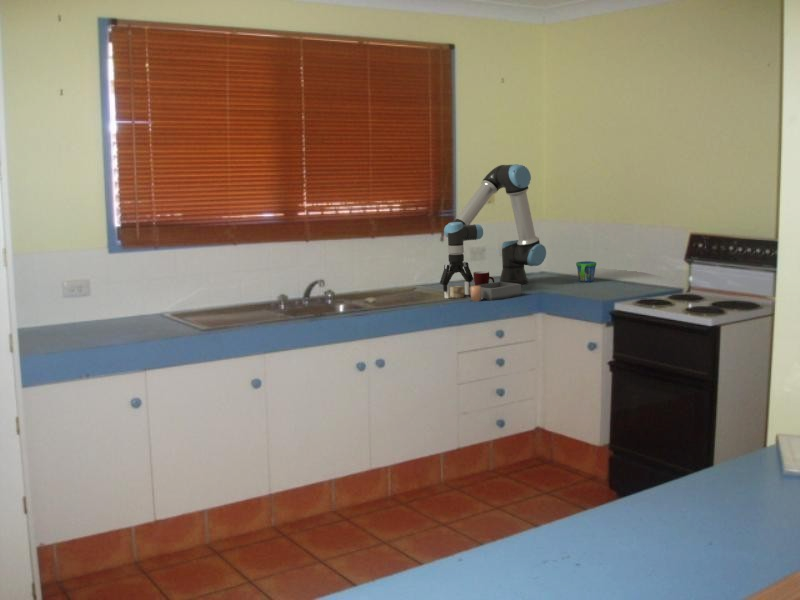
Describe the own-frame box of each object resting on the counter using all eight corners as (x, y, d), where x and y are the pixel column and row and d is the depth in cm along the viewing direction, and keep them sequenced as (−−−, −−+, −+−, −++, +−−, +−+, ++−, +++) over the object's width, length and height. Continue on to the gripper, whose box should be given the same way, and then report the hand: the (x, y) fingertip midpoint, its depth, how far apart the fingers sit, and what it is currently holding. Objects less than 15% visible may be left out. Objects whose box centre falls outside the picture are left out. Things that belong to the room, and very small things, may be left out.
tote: (500, 292, 455) (499, 281, 454) (521, 295, 443) (521, 284, 442) (470, 297, 443) (470, 286, 442) (491, 300, 431) (491, 289, 430)
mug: (492, 289, 464) (491, 270, 463) (496, 291, 456) (495, 272, 455) (472, 291, 463) (471, 271, 461) (475, 293, 455) (475, 273, 453)
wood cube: (457, 295, 450) (457, 286, 449) (464, 296, 446) (464, 286, 445) (450, 297, 447) (449, 287, 446) (456, 298, 443) (456, 288, 442)
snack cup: (590, 283, 471) (590, 264, 469) (571, 283, 476) (571, 264, 475) (600, 279, 484) (600, 261, 482) (582, 279, 490) (582, 260, 488)
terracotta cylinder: (476, 299, 436) (476, 285, 435) (483, 300, 432) (483, 286, 431) (468, 300, 433) (468, 286, 432) (475, 301, 429) (475, 287, 428)
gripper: (469, 250, 453) (470, 292, 456) (431, 255, 438) (433, 298, 442) (479, 251, 447) (480, 294, 451) (441, 256, 432) (443, 300, 436)
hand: (457, 296), depth 446 cm, fingers open, 13 cm apart
